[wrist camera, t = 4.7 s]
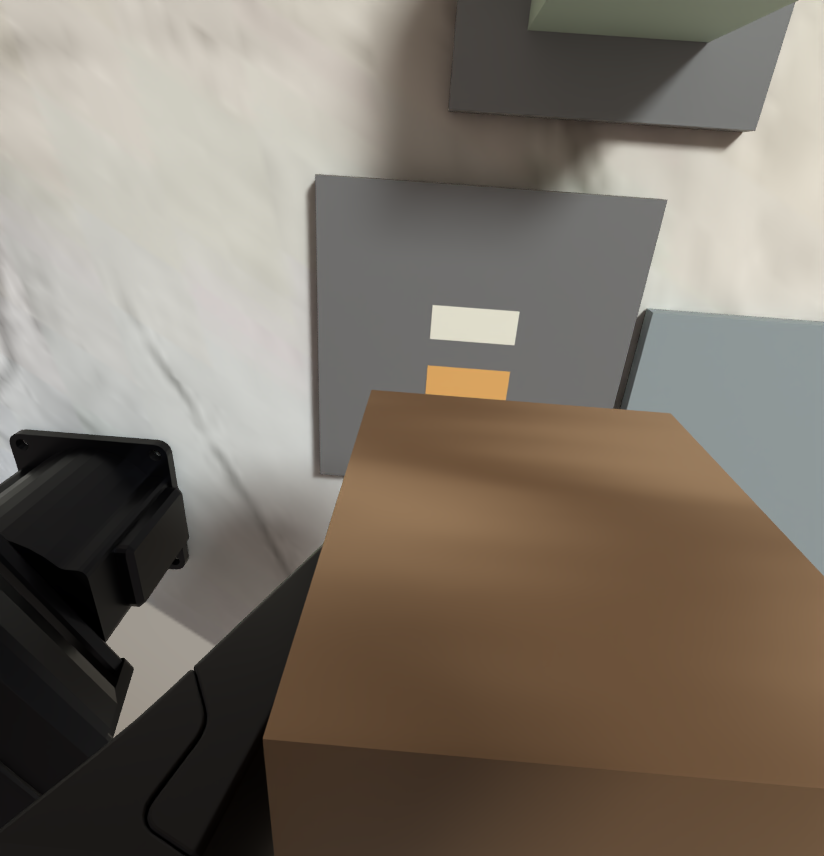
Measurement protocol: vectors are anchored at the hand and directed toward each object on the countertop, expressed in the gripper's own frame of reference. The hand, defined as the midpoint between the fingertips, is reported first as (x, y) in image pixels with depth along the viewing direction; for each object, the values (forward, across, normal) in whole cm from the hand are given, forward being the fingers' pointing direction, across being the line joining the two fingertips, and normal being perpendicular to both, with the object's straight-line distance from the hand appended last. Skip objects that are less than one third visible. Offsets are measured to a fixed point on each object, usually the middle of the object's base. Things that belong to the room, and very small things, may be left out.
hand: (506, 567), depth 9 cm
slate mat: (+12, -12, +4) cm, 17 cm away
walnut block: (+1, 0, 0) cm, 1 cm away
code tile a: (+12, 0, 0) cm, 12 cm away
